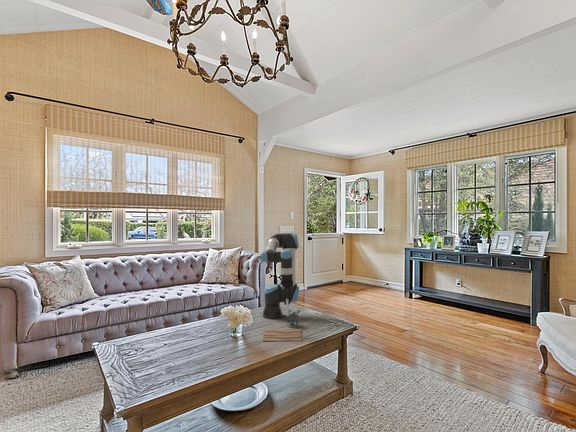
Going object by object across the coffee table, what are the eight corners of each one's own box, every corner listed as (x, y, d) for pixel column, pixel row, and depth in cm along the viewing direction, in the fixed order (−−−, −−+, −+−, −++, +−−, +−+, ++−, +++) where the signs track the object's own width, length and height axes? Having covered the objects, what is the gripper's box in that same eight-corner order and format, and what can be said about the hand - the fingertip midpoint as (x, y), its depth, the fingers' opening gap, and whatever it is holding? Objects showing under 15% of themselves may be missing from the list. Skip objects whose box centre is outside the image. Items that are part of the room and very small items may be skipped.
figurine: (302, 329, 211) (301, 311, 211) (286, 329, 211) (286, 311, 211) (301, 323, 222) (301, 306, 222) (286, 323, 222) (286, 307, 222)
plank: (264, 331, 207) (264, 329, 207) (300, 330, 207) (300, 328, 207) (263, 336, 198) (263, 335, 198) (301, 336, 199) (301, 334, 199)
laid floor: (263, 337, 198) (263, 335, 198) (301, 336, 198) (301, 334, 198) (262, 342, 189) (262, 340, 189) (302, 342, 190) (302, 339, 190)
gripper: (276, 275, 201) (277, 311, 201) (297, 274, 201) (297, 310, 202) (276, 272, 208) (277, 307, 209) (296, 272, 209) (296, 307, 209)
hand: (287, 309), depth 205 cm, fingers closed
